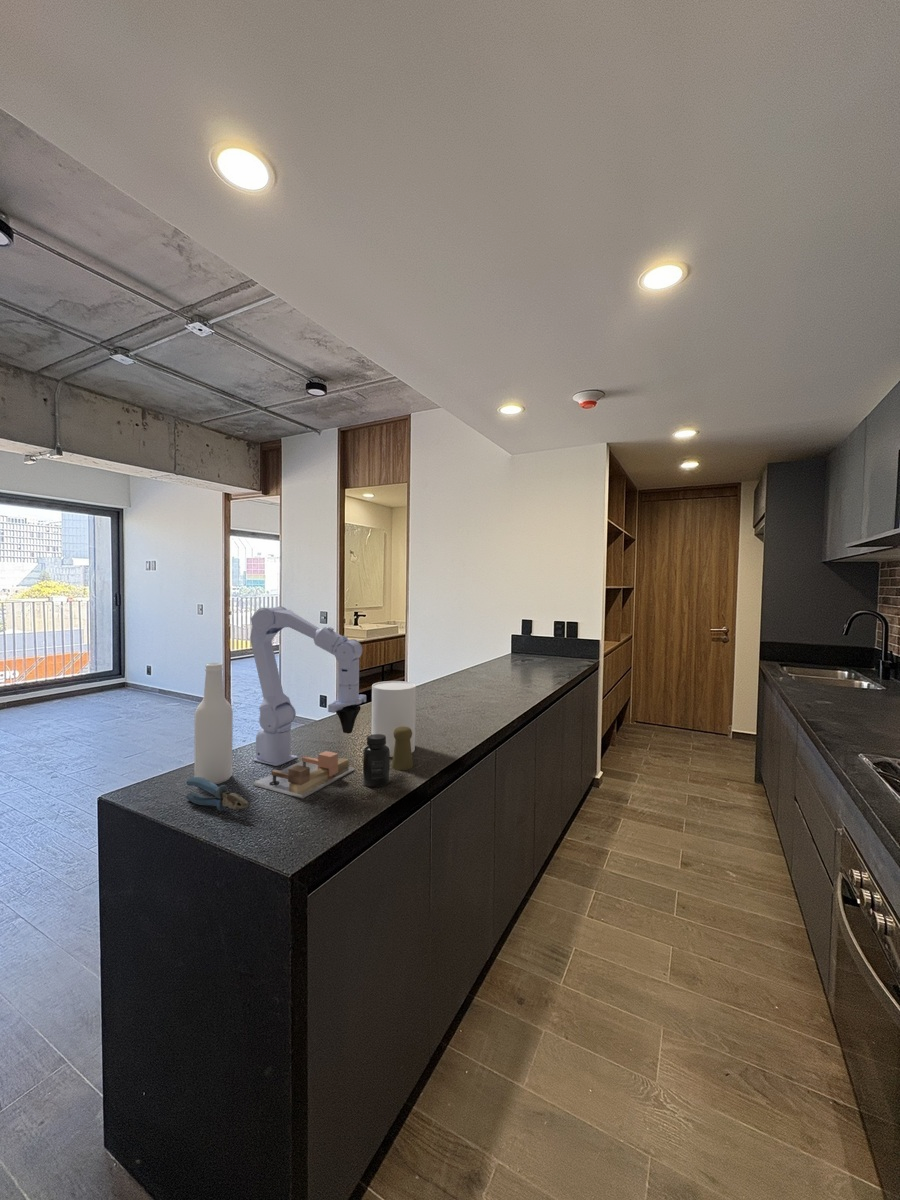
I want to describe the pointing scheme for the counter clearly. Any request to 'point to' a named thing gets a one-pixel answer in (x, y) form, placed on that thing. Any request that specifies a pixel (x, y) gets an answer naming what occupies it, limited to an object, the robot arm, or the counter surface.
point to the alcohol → (213, 730)
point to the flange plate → (283, 783)
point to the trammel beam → (306, 775)
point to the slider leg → (324, 761)
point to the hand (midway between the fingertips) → (347, 732)
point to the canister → (393, 710)
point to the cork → (402, 749)
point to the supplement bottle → (376, 761)
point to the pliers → (221, 793)
